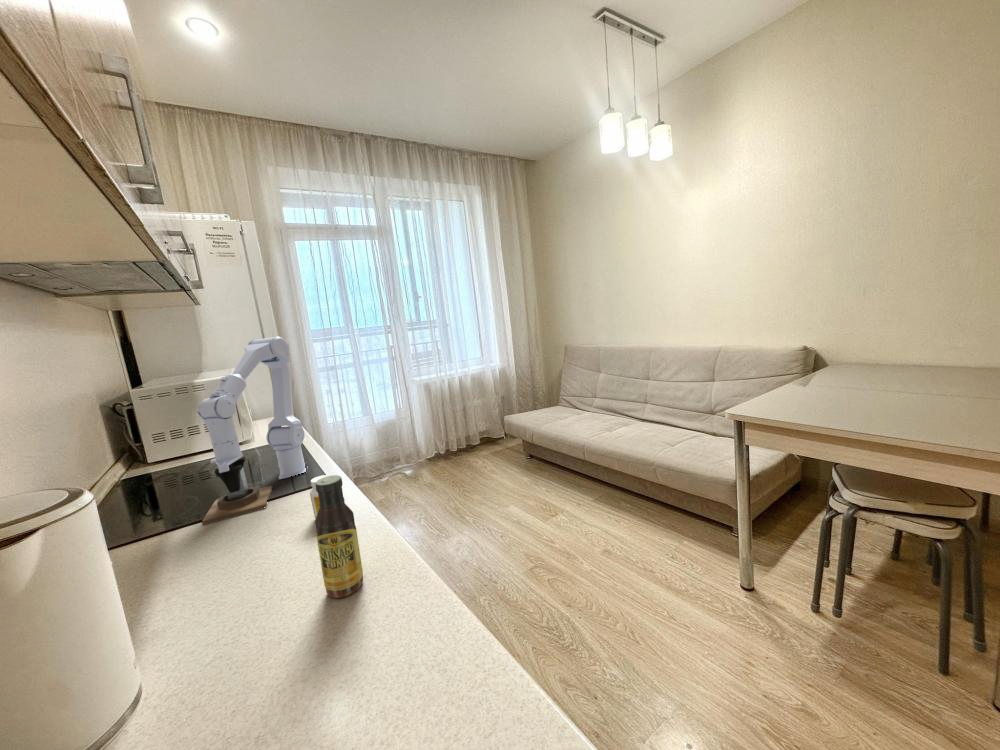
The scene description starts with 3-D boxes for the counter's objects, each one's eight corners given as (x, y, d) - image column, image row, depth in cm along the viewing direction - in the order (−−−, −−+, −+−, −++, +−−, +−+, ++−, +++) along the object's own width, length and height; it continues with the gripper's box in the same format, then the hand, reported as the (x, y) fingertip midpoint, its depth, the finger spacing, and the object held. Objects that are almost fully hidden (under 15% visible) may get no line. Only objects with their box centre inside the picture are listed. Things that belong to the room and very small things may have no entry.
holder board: (217, 502, 111) (214, 492, 110) (272, 488, 116) (270, 478, 116) (202, 524, 98) (200, 513, 97) (266, 507, 103) (263, 497, 103)
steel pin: (232, 497, 108) (225, 470, 106) (249, 493, 109) (242, 466, 108) (229, 503, 104) (222, 475, 103) (246, 499, 106) (240, 471, 104)
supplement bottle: (343, 512, 95) (336, 475, 94) (324, 523, 91) (316, 485, 89) (330, 508, 98) (323, 472, 97) (310, 519, 94) (302, 481, 92)
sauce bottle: (323, 605, 64) (299, 492, 61) (329, 581, 70) (307, 477, 67) (365, 593, 65) (343, 483, 62) (367, 571, 71) (347, 469, 68)
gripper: (214, 437, 109) (225, 483, 111) (198, 452, 96) (212, 503, 98) (243, 431, 112) (253, 476, 114) (232, 445, 99) (244, 495, 101)
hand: (236, 488), depth 106 cm, fingers closed on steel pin, 4 cm apart
